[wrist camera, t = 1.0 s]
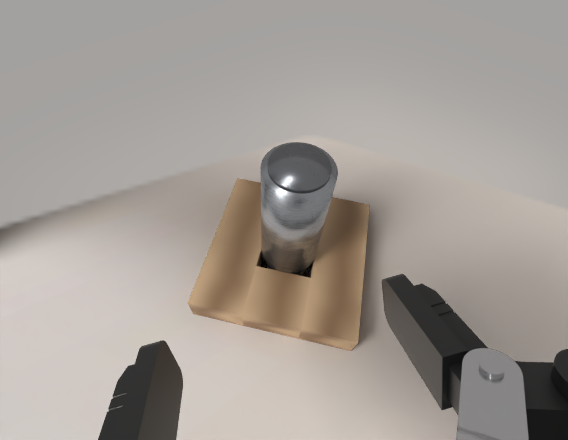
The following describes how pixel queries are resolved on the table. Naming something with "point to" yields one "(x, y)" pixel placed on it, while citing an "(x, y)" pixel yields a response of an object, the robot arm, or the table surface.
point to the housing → (285, 275)
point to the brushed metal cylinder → (294, 204)
